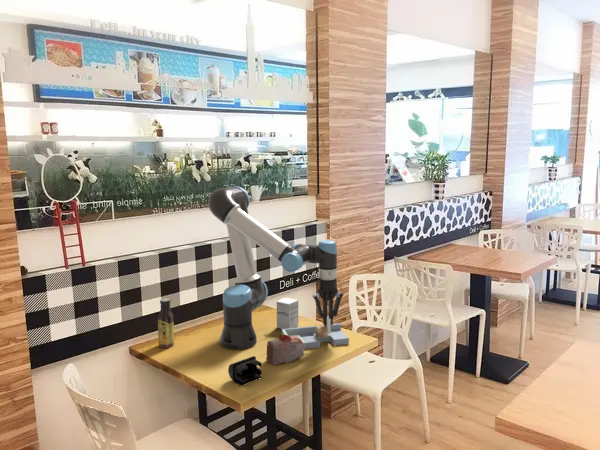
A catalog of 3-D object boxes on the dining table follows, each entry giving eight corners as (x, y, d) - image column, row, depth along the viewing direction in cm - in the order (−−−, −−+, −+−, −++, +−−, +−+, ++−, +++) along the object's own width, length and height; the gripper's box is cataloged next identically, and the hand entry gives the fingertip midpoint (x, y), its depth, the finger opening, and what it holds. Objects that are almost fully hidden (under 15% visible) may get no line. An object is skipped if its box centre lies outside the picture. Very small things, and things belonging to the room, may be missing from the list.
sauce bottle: (155, 345, 207) (153, 299, 204) (168, 341, 212) (166, 296, 209) (164, 350, 203) (162, 302, 200) (177, 345, 208) (175, 299, 204)
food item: (295, 352, 200) (295, 328, 199) (305, 359, 193) (305, 335, 192) (264, 360, 193) (264, 335, 192) (274, 367, 187) (274, 342, 185)
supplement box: (276, 328, 227) (275, 301, 224) (285, 323, 233) (285, 296, 231) (289, 331, 222) (289, 304, 220) (299, 326, 228) (298, 299, 226)
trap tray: (340, 334, 219) (340, 323, 218) (348, 343, 208) (349, 332, 207) (281, 340, 212) (281, 329, 211) (287, 350, 202) (287, 338, 201)
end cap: (251, 371, 184) (250, 353, 183) (263, 377, 179) (262, 359, 178) (228, 379, 177) (227, 361, 176) (240, 386, 172) (239, 368, 171)
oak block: (318, 338, 208) (318, 328, 207) (315, 334, 212) (315, 325, 211) (327, 337, 209) (327, 327, 208) (324, 333, 213) (324, 324, 212)
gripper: (315, 281, 202) (315, 337, 206) (345, 279, 205) (345, 334, 209) (310, 276, 209) (310, 330, 213) (339, 274, 212) (339, 327, 216)
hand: (327, 332), depth 211 cm, fingers closed
